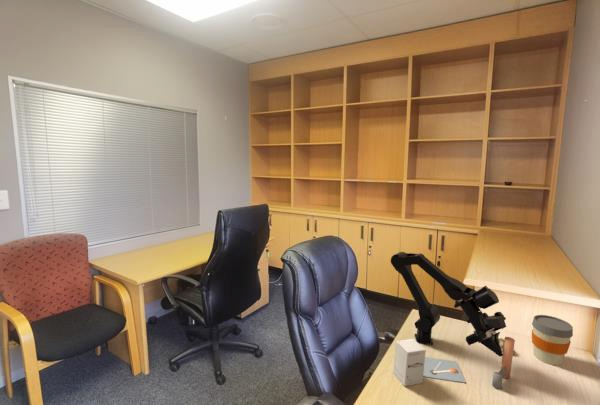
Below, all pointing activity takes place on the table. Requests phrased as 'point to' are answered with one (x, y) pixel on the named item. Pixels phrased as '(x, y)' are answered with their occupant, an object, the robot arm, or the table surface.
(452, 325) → the table surface
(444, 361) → the card
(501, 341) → the mineral rock
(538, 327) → the reusable coffee cup
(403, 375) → the supplement box
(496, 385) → the orange grey t-shaped piece
